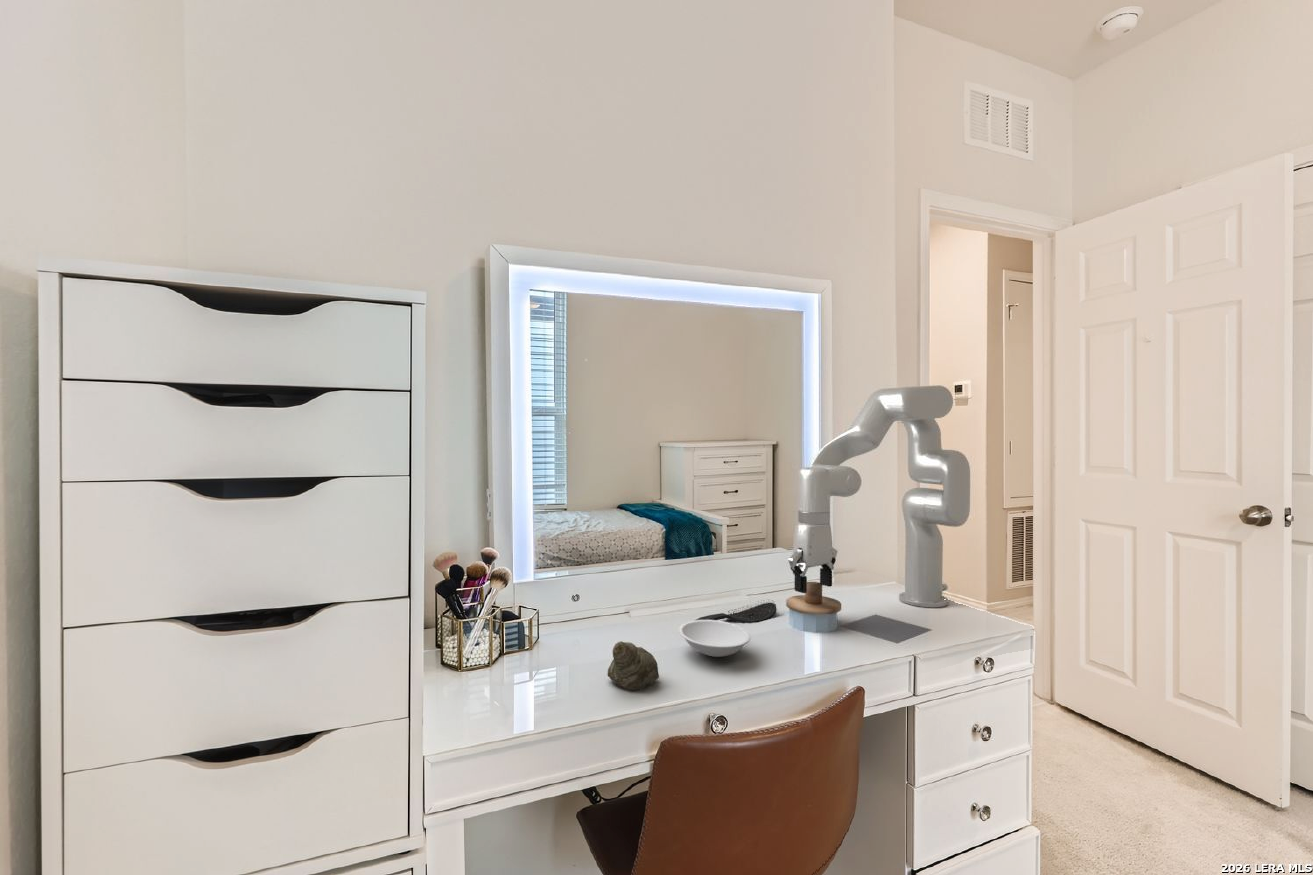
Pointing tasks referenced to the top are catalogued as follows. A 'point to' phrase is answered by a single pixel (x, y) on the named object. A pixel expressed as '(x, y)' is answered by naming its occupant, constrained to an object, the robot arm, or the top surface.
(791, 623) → the bowl
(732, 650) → the dish
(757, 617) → the hairbrush
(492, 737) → the top surface
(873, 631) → the mat
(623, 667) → the seashell
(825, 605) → the lid
